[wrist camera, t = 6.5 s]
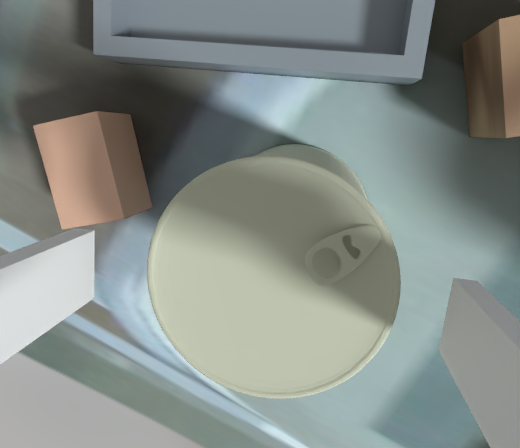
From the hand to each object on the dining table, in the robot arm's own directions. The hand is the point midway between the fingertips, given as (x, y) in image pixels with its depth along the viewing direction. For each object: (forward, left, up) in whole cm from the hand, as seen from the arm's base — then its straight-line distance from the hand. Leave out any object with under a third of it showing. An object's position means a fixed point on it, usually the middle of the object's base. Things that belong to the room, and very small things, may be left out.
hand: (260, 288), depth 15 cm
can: (0, 0, -12) cm, 11 cm away
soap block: (-2, -12, -11) cm, 16 cm away
